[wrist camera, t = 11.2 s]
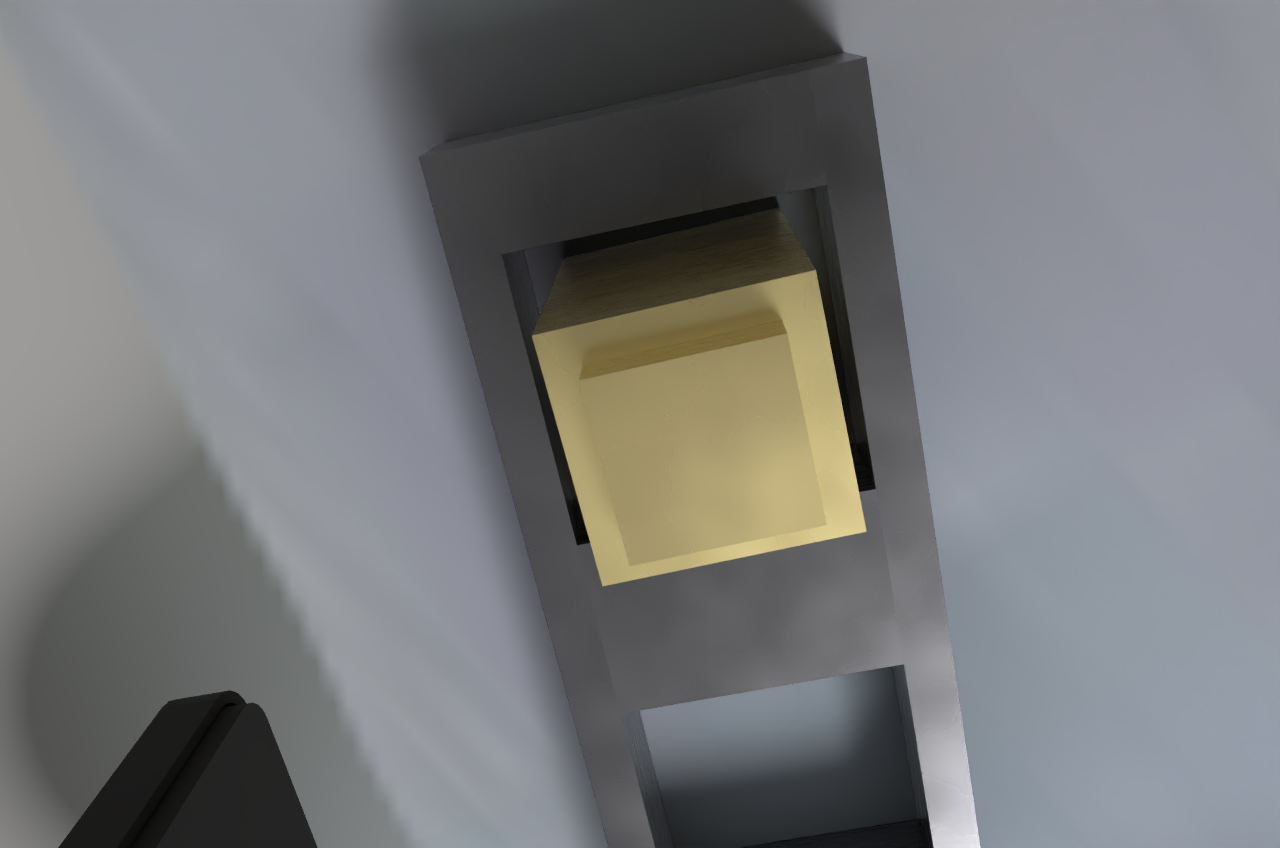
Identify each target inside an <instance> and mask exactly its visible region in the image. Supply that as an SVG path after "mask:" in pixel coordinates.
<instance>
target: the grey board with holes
mask: <svg viewBox="0 0 1280 848" xmlns="http://www.w3.org/2000/svg"><path fill="white" fill-rule="evenodd" d="M419 159H420V163H421V166H422V170H423V174H424V177H425V181H426V184H427V188H428V192H429V195H430V199H431V203H432V206H433V210H434V213H435V217H436V221H437V224H438V228H439V232H440V235H441V239H442V243H443V246H444V250H445V253H446V257H447V261H448V264H449V268H450V272H451V275H452V279H453V282H454V286H455V290H456V293H457V297H458V301H459V304H460V308H461V312H462V315H463V319H464V322H465V326H466V330H467V333H468V337H469V341H470V344H471V348H472V351H473V355H474V359H475V362H476V366H477V370H478V373H479V377H480V381H481V384H482V388H483V391H484V395H485V399H486V402H487V406H488V410H489V413H490V417H491V421H492V424H493V428H494V431H495V435H496V439H497V442H498V446H499V450H500V453H501V457H502V460H503V464H504V468H505V471H506V475H507V479H508V482H509V486H510V490H511V493H512V497H513V500H514V504H515V508H516V511H517V515H518V519H519V522H520V526H521V529H522V533H523V537H524V540H525V544H526V548H527V551H528V555H529V559H530V562H531V566H532V569H533V573H534V577H535V580H536V584H537V588H538V591H539V595H540V599H541V602H542V606H543V609H544V613H545V617H546V620H547V624H548V628H549V631H550V635H551V638H552V642H553V646H554V649H555V653H556V657H557V660H558V664H559V668H560V671H561V675H562V678H563V682H564V686H565V689H566V693H567V697H568V700H569V704H570V707H571V711H572V715H573V718H574V722H575V726H576V729H577V733H578V737H579V740H580V744H581V747H582V751H583V755H584V758H585V762H586V766H587V769H588V773H589V777H590V780H591V784H592V787H593V791H594V795H595V798H596V802H597V806H598V809H599V813H600V816H601V820H602V824H603V827H604V831H605V835H606V838H607V842H608V846H609V848H674V846H673V842H672V838H671V834H670V830H669V827H668V823H667V819H666V815H665V811H664V807H663V803H662V799H661V795H660V791H659V787H658V783H657V779H656V775H655V771H654V767H653V763H652V759H651V755H650V751H649V747H648V743H647V739H646V735H645V731H644V728H643V724H642V720H641V716H640V712H639V710H644V709H650V708H656V707H662V706H667V705H673V704H679V703H685V702H690V701H696V700H702V699H707V698H713V697H719V696H725V695H730V694H736V693H742V692H747V691H753V690H759V689H765V688H770V687H776V686H782V685H788V684H793V683H799V682H805V681H810V680H816V679H822V678H828V677H833V676H839V675H845V674H851V673H856V672H862V671H868V670H873V669H879V668H885V667H891V666H893V672H894V678H895V684H896V690H897V696H898V702H899V709H900V715H901V721H902V727H903V733H904V739H905V745H906V751H907V757H908V763H909V769H910V775H911V781H912V787H913V793H914V799H915V806H916V812H917V818H918V820H912V821H906V822H900V823H894V824H888V825H881V826H875V827H869V828H863V829H857V830H851V831H844V832H838V833H832V834H826V835H820V836H814V837H807V838H801V839H795V840H789V841H783V842H777V843H771V844H764V845H758V846H752V847H746V848H980V842H979V835H978V828H977V821H976V814H975V807H974V800H973V793H972V786H971V779H970V772H969V765H968V758H967V752H966V745H965V738H964V731H963V724H962V717H961V710H960V703H959V696H958V689H957V682H956V675H955V668H954V662H953V655H952V648H951V641H950V634H949V627H948V620H947V613H946V606H945V599H944V592H943V585H942V578H941V572H940V565H939V558H938V551H937V544H936V537H935V530H934V523H933V516H932V509H931V502H930V495H929V488H928V482H927V475H926V468H925V461H924V454H923V447H922V440H921V433H920V426H919V419H918V412H917V405H916V398H915V391H914V385H913V378H912V371H911V364H910V357H909V350H908V343H907V336H906V329H905V322H904V315H903V308H902V301H901V295H900V288H899V281H898V274H897V267H896V260H895V253H894V246H893V239H892V232H891V225H890V218H889V211H888V205H887V198H886V191H885V184H884V177H883V170H882V163H881V156H880V149H879V142H878V135H877V128H876V121H875V115H874V108H873V101H872V94H871V87H870V80H869V73H868V66H867V59H866V57H863V56H859V55H854V54H850V53H845V52H844V53H840V54H835V55H831V56H827V57H822V58H818V59H813V60H809V61H804V62H800V63H795V64H791V65H786V66H782V67H777V68H773V69H768V70H764V71H759V72H755V73H751V74H746V75H742V76H737V77H733V78H728V79H724V80H719V81H715V82H710V83H706V84H701V85H697V86H692V87H688V88H683V89H679V90H674V91H670V92H666V93H661V94H657V95H652V96H648V97H643V98H639V99H634V100H630V101H625V102H621V103H616V104H612V105H607V106H603V107H598V108H594V109H590V110H585V111H581V112H576V113H572V114H567V115H563V116H558V117H554V118H549V119H545V120H540V121H536V122H531V123H527V124H522V125H518V126H514V127H509V128H505V129H500V130H496V131H491V132H487V133H482V134H478V135H473V136H469V137H464V138H460V139H455V140H451V141H446V142H443V143H442V144H440V145H438V146H437V147H435V148H433V149H431V150H430V151H428V152H426V153H425V154H423V155H421V156H420V157H419ZM809 188H814V193H815V199H816V205H817V211H818V217H819V223H820V229H821V235H822V241H823V247H824V254H825V260H826V266H827V272H828V278H829V284H830V290H831V296H832V302H833V308H834V314H835V320H836V326H837V332H838V338H839V345H840V351H841V357H842V363H843V369H844V375H845V381H846V387H847V393H848V399H849V405H850V411H851V417H852V423H853V429H854V436H855V442H856V444H852V445H850V449H851V454H852V459H853V464H854V469H855V475H856V480H857V485H858V490H859V495H860V500H861V505H862V511H863V516H864V521H865V526H866V531H867V532H862V533H857V534H853V535H848V536H843V537H838V538H833V539H829V540H824V541H819V542H814V543H809V544H804V545H800V546H795V547H790V548H785V549H780V550H776V551H771V552H766V553H761V554H756V555H751V556H747V557H742V558H737V559H732V560H727V561H723V562H718V563H713V564H708V565H703V566H698V567H694V568H689V569H684V570H679V571H674V572H669V573H665V574H660V575H655V576H650V577H645V578H641V579H636V580H631V581H626V582H621V583H616V584H612V585H607V586H602V582H601V579H600V575H599V572H598V568H597V565H596V561H595V558H594V554H593V551H592V547H591V543H590V540H589V536H588V533H587V529H586V526H585V522H584V519H583V515H582V512H581V508H580V505H579V501H578V497H577V494H576V490H575V487H574V483H573V480H572V476H571V473H570V469H569V466H568V462H567V459H566V455H565V451H564V448H563V444H562V441H561V437H560V434H559V430H558V427H557V423H556V420H555V416H554V413H553V409H552V405H551V402H550V398H549V395H548V391H547V388H546V384H545V381H544V377H543V374H542V370H541V366H540V363H539V359H538V356H537V352H536V349H535V345H534V342H533V338H532V334H533V332H534V329H535V327H536V324H537V322H538V319H539V317H540V316H539V312H538V308H537V304H536V300H535V296H534V292H533V288H532V284H531V280H530V276H529V272H528V268H527V264H526V260H525V256H524V252H523V250H524V249H528V248H533V247H538V246H542V245H547V244H552V243H556V242H561V241H566V240H571V239H575V238H580V237H585V236H589V235H594V234H599V233H603V232H608V231H613V230H617V229H622V228H627V227H631V226H636V225H641V224H645V223H650V222H655V221H660V220H664V219H669V218H674V217H678V216H683V215H688V214H692V213H697V212H702V211H706V210H711V209H716V208H720V207H725V206H730V205H734V204H739V203H744V202H748V201H753V200H758V199H763V198H767V197H772V196H777V195H781V194H786V193H791V192H795V191H800V190H805V189H809Z"/></svg>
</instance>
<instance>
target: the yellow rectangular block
mask: <svg viewBox="0 0 1280 848" xmlns="http://www.w3.org/2000/svg"><path fill="white" fill-rule="evenodd" d="M532 338H533V342H534V345H535V349H536V352H537V356H538V359H539V363H540V366H541V370H542V374H543V377H544V381H545V384H546V388H547V391H548V395H549V398H550V402H551V405H552V409H553V413H554V416H555V420H556V423H557V427H558V430H559V434H560V437H561V441H562V444H563V448H564V451H565V455H566V459H567V462H568V466H569V469H570V473H571V476H572V480H573V483H574V487H575V490H576V494H577V497H578V501H579V505H580V508H581V512H582V515H583V519H584V522H585V526H586V529H587V533H588V536H589V540H590V543H591V547H592V551H593V554H594V558H595V561H596V565H597V568H598V572H599V575H600V579H601V582H602V586H607V585H612V584H616V583H621V582H626V581H631V580H636V579H641V578H645V577H650V576H655V575H660V574H665V573H669V572H674V571H679V570H684V569H689V568H694V567H698V566H703V565H708V564H713V563H718V562H723V561H727V560H732V559H737V558H742V557H747V556H751V555H756V554H761V553H766V552H771V551H776V550H780V549H785V548H790V547H795V546H800V545H804V544H809V543H814V542H819V541H824V540H829V539H833V538H838V537H843V536H848V535H853V534H857V533H862V532H867V531H866V526H865V521H864V516H863V511H862V505H861V500H860V495H859V490H858V485H857V480H856V475H855V469H854V464H853V459H852V454H851V449H850V444H849V438H848V433H847V428H846V423H845V418H844V413H843V407H842V402H841V397H840V392H839V387H838V382H837V377H836V371H835V366H834V361H833V356H832V351H831V346H830V340H829V335H828V330H827V325H826V320H825V315H824V309H823V304H822V299H821V294H820V289H819V284H818V279H817V273H816V269H815V268H814V266H813V264H812V263H811V261H810V259H809V257H808V256H807V254H806V252H805V250H804V249H803V247H802V245H801V244H800V242H799V240H798V238H797V237H796V235H795V233H794V232H793V230H792V228H791V226H790V225H789V223H788V221H787V220H786V218H785V216H784V214H783V213H782V211H781V209H780V207H778V208H774V209H770V210H766V211H761V212H757V213H753V214H749V215H745V216H740V217H736V218H732V219H728V220H724V221H719V222H715V223H711V224H707V225H703V226H698V227H694V228H690V229H686V230H681V231H677V232H673V233H669V234H665V235H660V236H656V237H652V238H648V239H644V240H639V241H635V242H631V243H627V244H623V245H618V246H614V247H610V248H606V249H602V250H597V251H593V252H589V253H585V254H580V255H576V256H572V257H568V258H564V259H563V261H562V264H561V266H560V269H559V271H558V274H557V276H556V278H555V281H554V283H553V286H552V288H551V290H550V293H549V295H548V298H547V300H546V303H545V305H544V307H543V310H542V312H541V315H540V317H539V319H538V322H537V324H536V327H535V329H534V332H533V334H532Z"/></svg>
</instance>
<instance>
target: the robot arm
mask: <svg viewBox="0 0 1280 848" xmlns="http://www.w3.org/2000/svg"><path fill="white" fill-rule="evenodd" d="M59 848H317V845H316V843H315V840H314V838H313V835H312V832H311V830H310V828H309V825H308V822H307V820H306V817H305V815H304V812H303V809H302V807H301V804H300V802H299V799H298V797H297V794H296V791H295V789H294V786H293V784H292V781H291V778H290V776H289V773H288V771H287V768H286V766H285V763H284V760H283V758H282V755H281V753H280V750H279V748H278V745H277V743H276V740H275V737H274V735H273V733H272V730H271V727H270V724H269V722H268V719H267V717H266V715H265V713H264V711H263V709H261V707H260V706H259V705H257V704H255V703H248V704H246V702H245V700H244V699H243V698H242V697H241V696H240V695H239V694H238V693H236V692H233V691H231V690H230V691H224V692H219V693H212V694H207V695H201V696H194V697H188V698H182V699H176V700H172V701H169V702H168V703H167V704H166V705H165V706H164V707H162V708H161V710H160V711H159V712H158V714H157V715H156V717H155V718H154V719H153V721H152V722H151V723H150V725H149V726H148V727H147V729H146V730H145V731H144V733H143V734H142V736H141V737H140V738H139V740H138V741H137V742H136V744H135V745H134V746H133V748H132V749H131V750H130V752H129V753H128V754H127V756H126V757H125V759H124V760H123V761H122V763H121V764H120V765H119V767H118V768H117V769H116V771H115V772H114V773H113V775H112V776H111V777H110V779H109V780H108V782H107V783H106V784H105V786H104V787H103V788H102V789H101V791H100V792H99V794H98V795H97V796H96V798H95V799H94V800H93V802H92V803H91V804H90V806H89V807H88V808H87V810H86V811H85V812H84V814H83V815H82V816H81V818H80V819H79V821H78V822H77V823H76V825H75V826H74V827H73V829H72V830H71V831H70V833H69V834H68V835H67V837H66V838H65V839H64V841H63V842H62V843H61V845H60V846H59Z"/></svg>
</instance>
